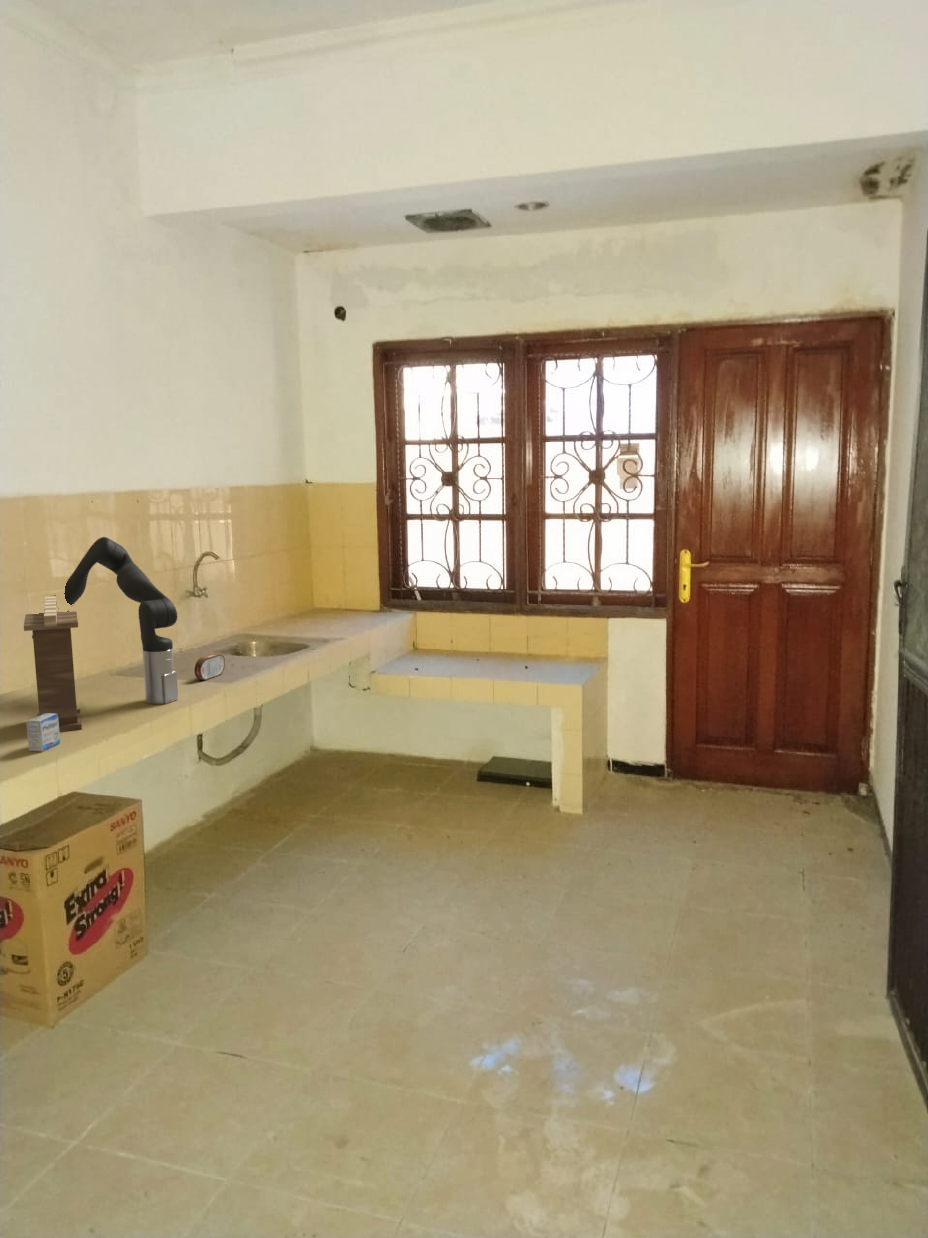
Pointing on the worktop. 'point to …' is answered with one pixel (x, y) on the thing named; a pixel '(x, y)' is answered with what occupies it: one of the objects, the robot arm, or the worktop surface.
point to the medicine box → (43, 732)
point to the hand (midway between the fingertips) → (55, 630)
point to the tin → (209, 666)
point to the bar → (50, 611)
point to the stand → (55, 667)
